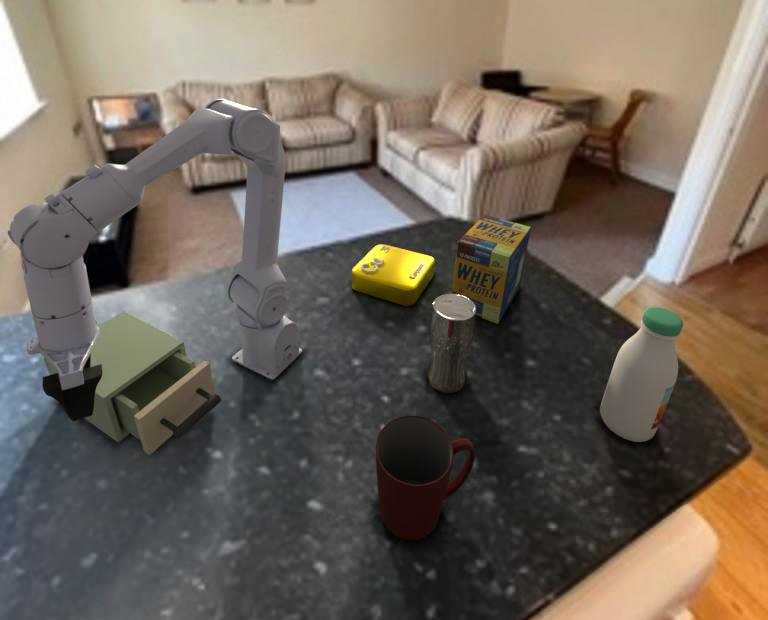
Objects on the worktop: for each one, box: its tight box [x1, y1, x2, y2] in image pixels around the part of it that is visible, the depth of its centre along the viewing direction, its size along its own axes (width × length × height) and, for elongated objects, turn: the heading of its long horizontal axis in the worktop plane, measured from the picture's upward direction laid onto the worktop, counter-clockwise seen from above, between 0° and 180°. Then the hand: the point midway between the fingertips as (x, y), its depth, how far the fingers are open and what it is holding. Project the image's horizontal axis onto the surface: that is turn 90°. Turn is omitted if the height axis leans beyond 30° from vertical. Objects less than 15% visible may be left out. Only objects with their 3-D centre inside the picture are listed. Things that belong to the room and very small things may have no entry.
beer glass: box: [427, 293, 477, 394], centre depth 72 cm, size 7×7×15 cm
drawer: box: [111, 352, 222, 456], centre depth 65 cm, size 18×11×7 cm, turn 61°
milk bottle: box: [599, 306, 684, 443], centre depth 64 cm, size 8×8×20 cm
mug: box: [375, 415, 476, 541], centre depth 54 cm, size 12×9×11 cm
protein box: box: [451, 214, 532, 325], centre depth 93 cm, size 10×15×16 cm
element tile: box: [351, 243, 436, 307], centre depth 100 cm, size 15×15×5 cm
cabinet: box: [42, 311, 188, 443], centre depth 69 cm, size 15×13×9 cm
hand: (81, 395), depth 57 cm, fingers open, 7 cm apart
